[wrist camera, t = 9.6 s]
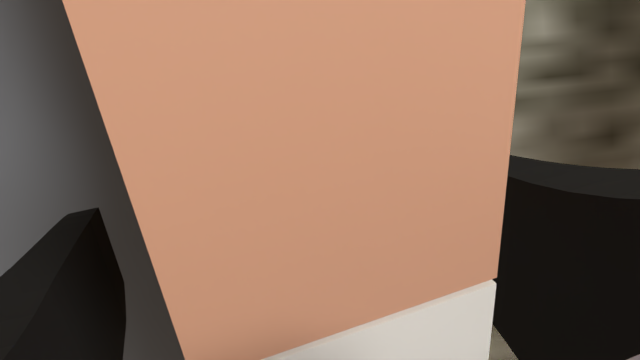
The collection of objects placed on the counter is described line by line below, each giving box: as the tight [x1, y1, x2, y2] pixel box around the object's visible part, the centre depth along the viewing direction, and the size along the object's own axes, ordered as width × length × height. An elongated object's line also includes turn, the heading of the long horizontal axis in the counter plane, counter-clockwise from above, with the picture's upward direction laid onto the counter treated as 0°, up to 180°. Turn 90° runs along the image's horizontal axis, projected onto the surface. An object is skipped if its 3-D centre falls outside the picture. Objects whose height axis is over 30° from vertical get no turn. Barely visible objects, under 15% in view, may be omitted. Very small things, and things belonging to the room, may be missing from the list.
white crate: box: [261, 279, 496, 360], centre depth 8 cm, size 4×4×4 cm
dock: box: [0, 0, 185, 360], centre depth 14 cm, size 14×22×2 cm, turn 4°
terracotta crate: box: [62, 0, 526, 360], centre depth 6 cm, size 4×4×4 cm
